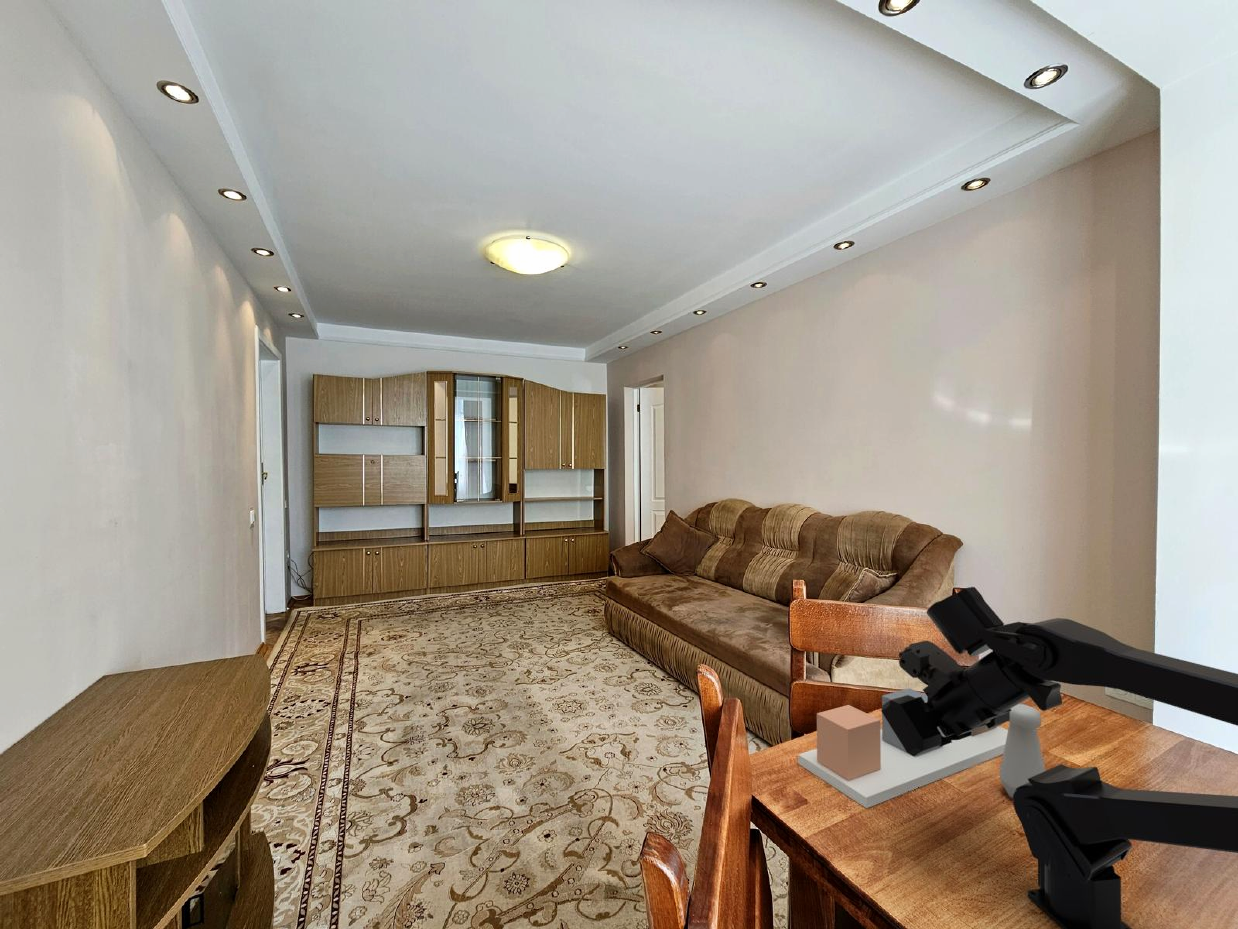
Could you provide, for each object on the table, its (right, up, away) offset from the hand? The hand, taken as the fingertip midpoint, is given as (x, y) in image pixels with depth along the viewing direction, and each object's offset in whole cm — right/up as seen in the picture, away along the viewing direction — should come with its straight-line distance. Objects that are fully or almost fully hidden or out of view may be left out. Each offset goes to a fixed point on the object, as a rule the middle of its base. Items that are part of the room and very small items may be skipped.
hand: (906, 738), depth 76 cm
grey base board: (+9, -10, +15) cm, 20 cm away
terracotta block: (-4, -9, +9) cm, 13 cm away
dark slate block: (+9, -9, +15) cm, 20 cm away
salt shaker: (+19, -10, +3) cm, 22 cm away
